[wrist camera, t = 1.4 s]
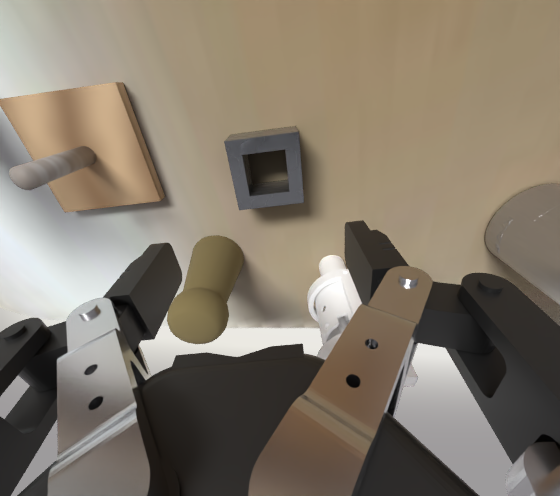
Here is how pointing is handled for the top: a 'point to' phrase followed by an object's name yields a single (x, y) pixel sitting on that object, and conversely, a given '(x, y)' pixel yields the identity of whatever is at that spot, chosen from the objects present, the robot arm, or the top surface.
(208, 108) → the top surface
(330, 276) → the strainer
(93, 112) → the toggle switch
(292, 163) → the grey hollow square block
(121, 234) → the top surface
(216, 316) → the cork
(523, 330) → the robot arm
